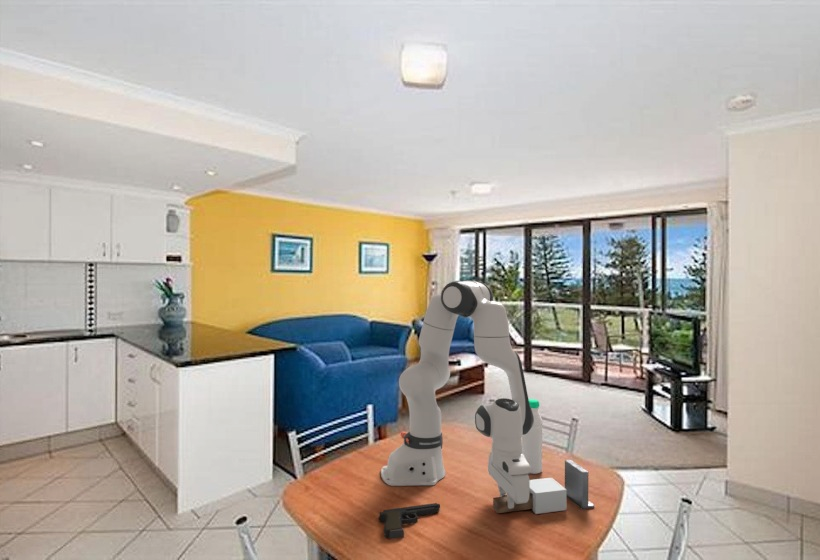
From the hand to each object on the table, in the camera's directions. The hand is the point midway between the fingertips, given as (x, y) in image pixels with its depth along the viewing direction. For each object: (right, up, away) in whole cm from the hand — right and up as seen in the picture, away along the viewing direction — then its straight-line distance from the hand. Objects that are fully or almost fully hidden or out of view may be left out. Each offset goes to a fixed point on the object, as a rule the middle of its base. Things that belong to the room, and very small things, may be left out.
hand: (506, 503), depth 127 cm
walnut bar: (+3, -2, +1) cm, 4 cm away
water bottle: (+15, -3, +28) cm, 32 cm away
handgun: (-27, -3, -6) cm, 28 cm away
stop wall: (+23, -2, +6) cm, 23 cm away
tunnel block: (+12, -2, +3) cm, 12 cm away
